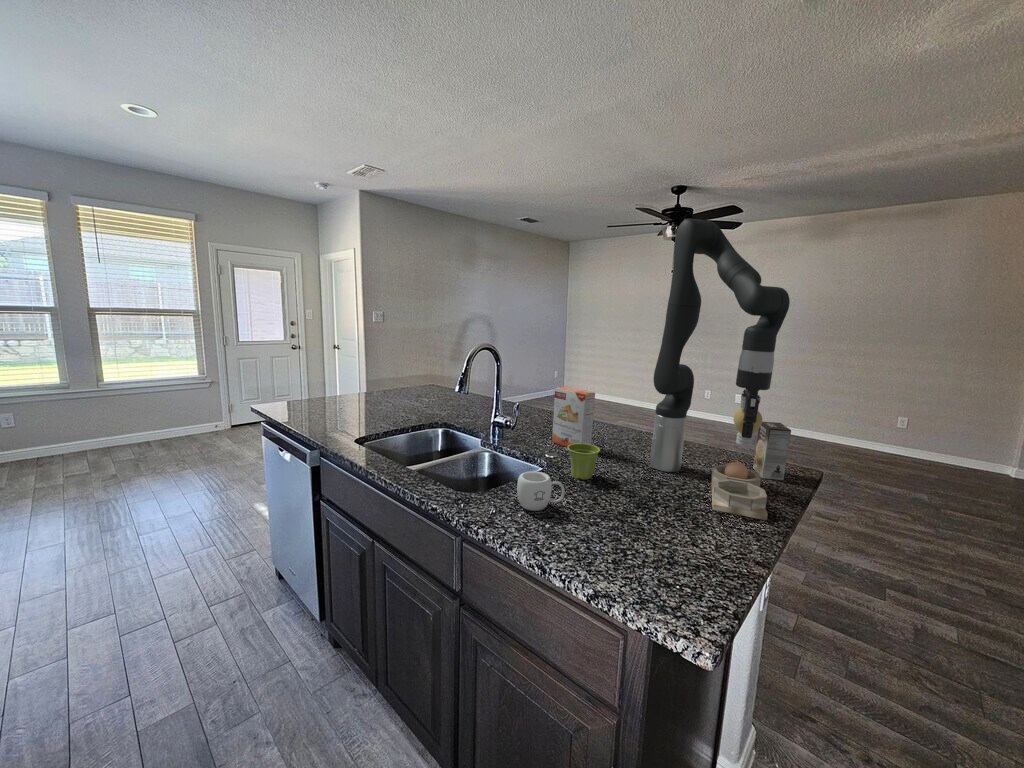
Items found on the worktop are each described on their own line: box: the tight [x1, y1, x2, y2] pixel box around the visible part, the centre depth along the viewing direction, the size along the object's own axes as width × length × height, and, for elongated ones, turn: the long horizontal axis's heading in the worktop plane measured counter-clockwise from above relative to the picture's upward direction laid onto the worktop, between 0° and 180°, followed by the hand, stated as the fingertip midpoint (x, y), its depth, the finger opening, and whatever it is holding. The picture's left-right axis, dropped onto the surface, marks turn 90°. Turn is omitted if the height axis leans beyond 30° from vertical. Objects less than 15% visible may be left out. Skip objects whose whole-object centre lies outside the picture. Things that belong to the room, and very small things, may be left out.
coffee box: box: [752, 421, 792, 481], centre depth 136 cm, size 9×6×16 cm
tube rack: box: [710, 464, 769, 521], centre depth 120 cm, size 12×26×4 cm, turn 157°
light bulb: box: [732, 407, 763, 448], centre depth 110 cm, size 6×6×10 cm
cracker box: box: [551, 386, 596, 448], centre depth 157 cm, size 14×6×21 cm, turn 43°
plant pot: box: [566, 443, 601, 481], centre depth 129 cm, size 9×9×9 cm
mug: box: [516, 470, 565, 512], centre depth 108 cm, size 12×8×8 cm
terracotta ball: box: [725, 461, 748, 480], centre depth 125 cm, size 6×6×6 cm
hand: (745, 433), depth 111 cm, fingers closed on light bulb, 6 cm apart
